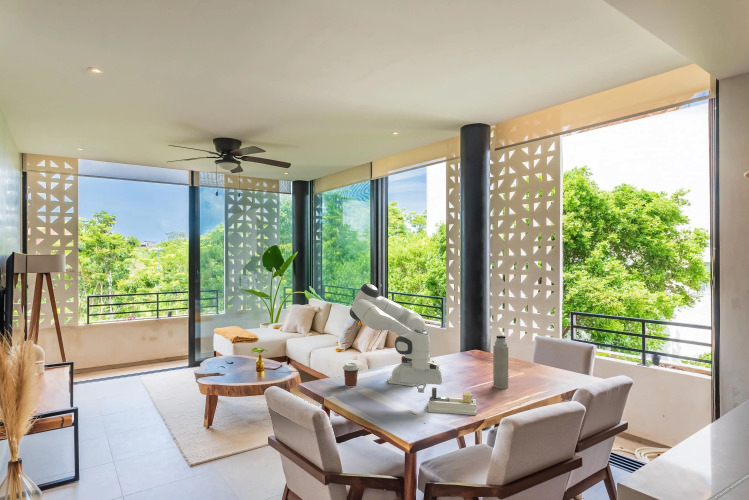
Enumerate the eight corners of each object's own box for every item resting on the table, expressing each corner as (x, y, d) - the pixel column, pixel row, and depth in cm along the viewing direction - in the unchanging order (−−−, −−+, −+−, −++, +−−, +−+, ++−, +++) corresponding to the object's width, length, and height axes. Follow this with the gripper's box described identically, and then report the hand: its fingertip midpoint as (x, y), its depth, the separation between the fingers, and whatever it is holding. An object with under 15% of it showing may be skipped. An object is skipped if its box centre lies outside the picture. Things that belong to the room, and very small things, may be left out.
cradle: (428, 411, 205) (428, 403, 205) (429, 403, 217) (429, 394, 217) (476, 415, 201) (476, 406, 201) (475, 406, 213) (475, 397, 213)
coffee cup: (356, 382, 251) (356, 361, 251) (361, 387, 242) (361, 365, 243) (340, 384, 248) (340, 362, 248) (345, 389, 239) (345, 366, 239)
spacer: (462, 407, 206) (462, 395, 206) (462, 405, 210) (462, 392, 210) (471, 408, 205) (471, 395, 205) (471, 405, 209) (471, 392, 209)
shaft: (430, 405, 209) (430, 389, 209) (430, 402, 213) (430, 387, 213) (449, 406, 208) (449, 390, 208) (449, 403, 211) (449, 388, 211)
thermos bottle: (491, 386, 244) (491, 336, 244) (497, 383, 250) (497, 334, 250) (504, 389, 239) (504, 338, 239) (510, 386, 245) (510, 335, 245)
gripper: (398, 364, 211) (398, 393, 211) (441, 366, 207) (441, 395, 207) (400, 360, 217) (400, 389, 217) (442, 363, 213) (442, 391, 213)
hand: (420, 392), depth 212 cm, fingers closed
